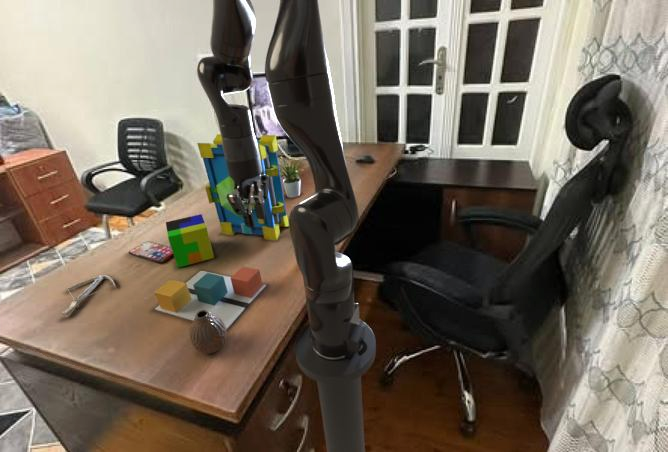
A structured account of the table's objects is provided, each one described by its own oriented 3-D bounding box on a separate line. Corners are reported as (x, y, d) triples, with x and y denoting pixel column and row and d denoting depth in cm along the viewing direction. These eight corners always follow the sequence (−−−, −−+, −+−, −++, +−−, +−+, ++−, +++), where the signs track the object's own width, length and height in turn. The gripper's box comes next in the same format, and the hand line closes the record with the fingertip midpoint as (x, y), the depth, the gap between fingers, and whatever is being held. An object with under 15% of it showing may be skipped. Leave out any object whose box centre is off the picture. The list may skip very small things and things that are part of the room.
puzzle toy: (208, 242, 110) (201, 214, 105) (214, 257, 102) (206, 227, 97) (174, 251, 106) (165, 222, 101) (177, 267, 98) (168, 236, 93)
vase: (220, 360, 68) (209, 328, 64) (188, 358, 70) (175, 325, 65) (235, 334, 74) (225, 302, 70) (205, 332, 76) (194, 300, 71)
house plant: (266, 201, 134) (258, 160, 126) (280, 187, 145) (274, 149, 138) (300, 203, 130) (294, 161, 122) (312, 189, 141) (308, 149, 133)
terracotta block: (263, 285, 88) (259, 269, 85) (251, 298, 84) (247, 281, 81) (246, 282, 90) (242, 266, 87) (234, 294, 86) (230, 277, 83)
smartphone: (147, 240, 112) (180, 249, 105) (148, 243, 112) (181, 251, 106) (126, 251, 106) (159, 261, 100) (127, 254, 106) (160, 264, 100)
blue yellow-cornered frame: (238, 217, 124) (218, 132, 109) (297, 223, 116) (284, 133, 102) (214, 237, 112) (188, 145, 98) (277, 245, 105) (259, 147, 90)
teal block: (228, 292, 86) (223, 276, 84) (214, 305, 82) (209, 289, 80) (212, 288, 88) (207, 272, 86) (198, 301, 84) (192, 284, 82)
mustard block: (192, 299, 85) (186, 283, 83) (176, 313, 81) (170, 296, 79) (176, 295, 87) (170, 279, 85) (160, 308, 83) (154, 292, 81)
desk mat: (265, 285, 88) (265, 284, 88) (225, 330, 75) (225, 329, 75) (201, 271, 96) (201, 270, 96) (155, 309, 83) (154, 308, 83)
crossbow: (82, 281, 97) (79, 275, 96) (127, 278, 97) (124, 271, 96) (39, 319, 83) (36, 312, 82) (92, 315, 83) (89, 308, 82)
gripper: (236, 166, 71) (252, 239, 79) (273, 146, 82) (283, 211, 90) (207, 164, 73) (225, 234, 82) (246, 145, 85) (259, 208, 93)
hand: (256, 222), depth 86 cm, fingers open, 4 cm apart
